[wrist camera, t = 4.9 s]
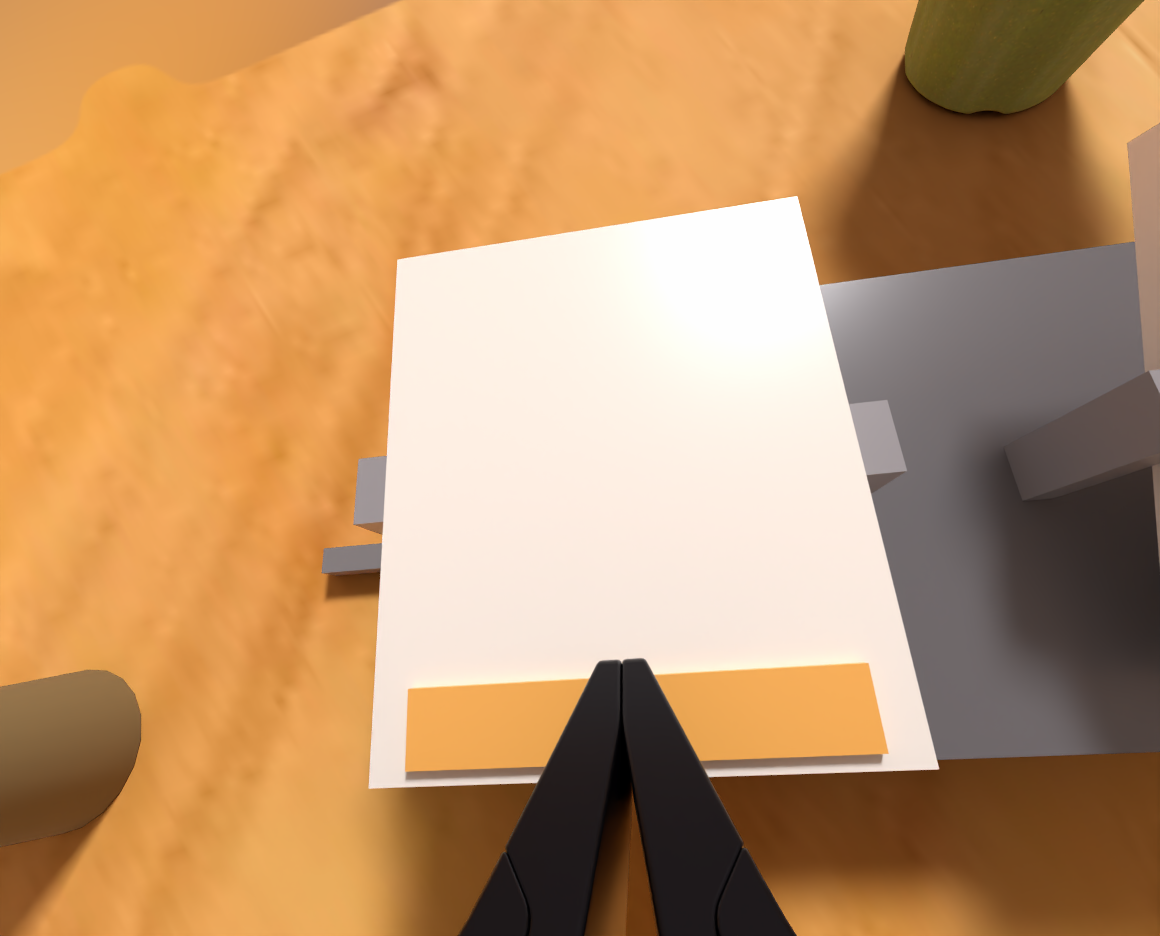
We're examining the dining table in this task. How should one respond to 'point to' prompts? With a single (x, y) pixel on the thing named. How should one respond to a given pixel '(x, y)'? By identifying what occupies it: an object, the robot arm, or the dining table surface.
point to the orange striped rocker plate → (632, 507)
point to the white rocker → (1148, 255)
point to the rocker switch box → (998, 495)
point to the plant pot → (1004, 48)
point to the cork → (63, 751)
